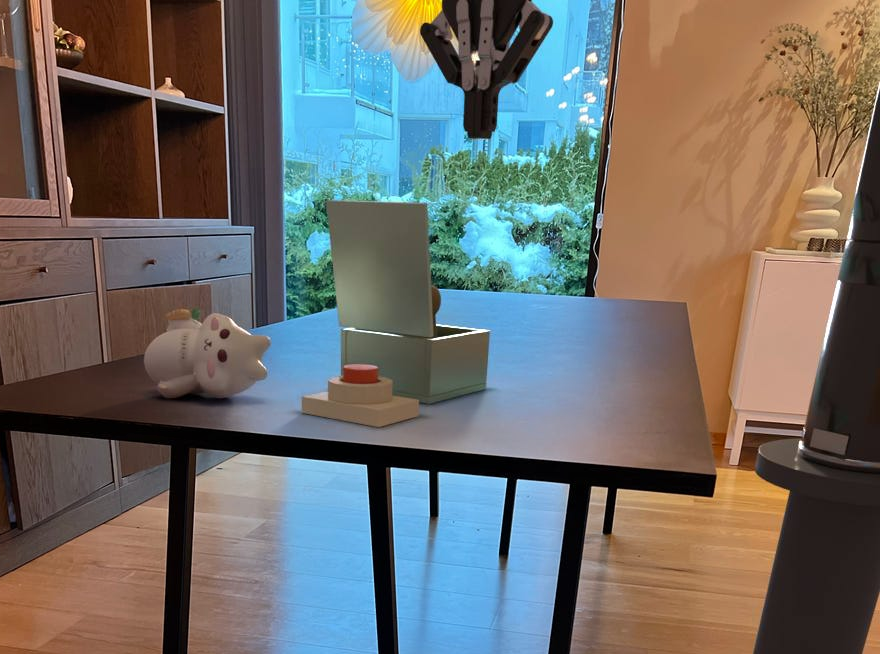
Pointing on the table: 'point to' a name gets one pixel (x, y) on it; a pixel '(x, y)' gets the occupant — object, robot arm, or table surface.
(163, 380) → the cat figurine
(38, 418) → the table surface
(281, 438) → the table surface
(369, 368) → the button
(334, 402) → the panel
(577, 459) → the table surface
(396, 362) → the open box
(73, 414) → the table surface
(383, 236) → the box lid
